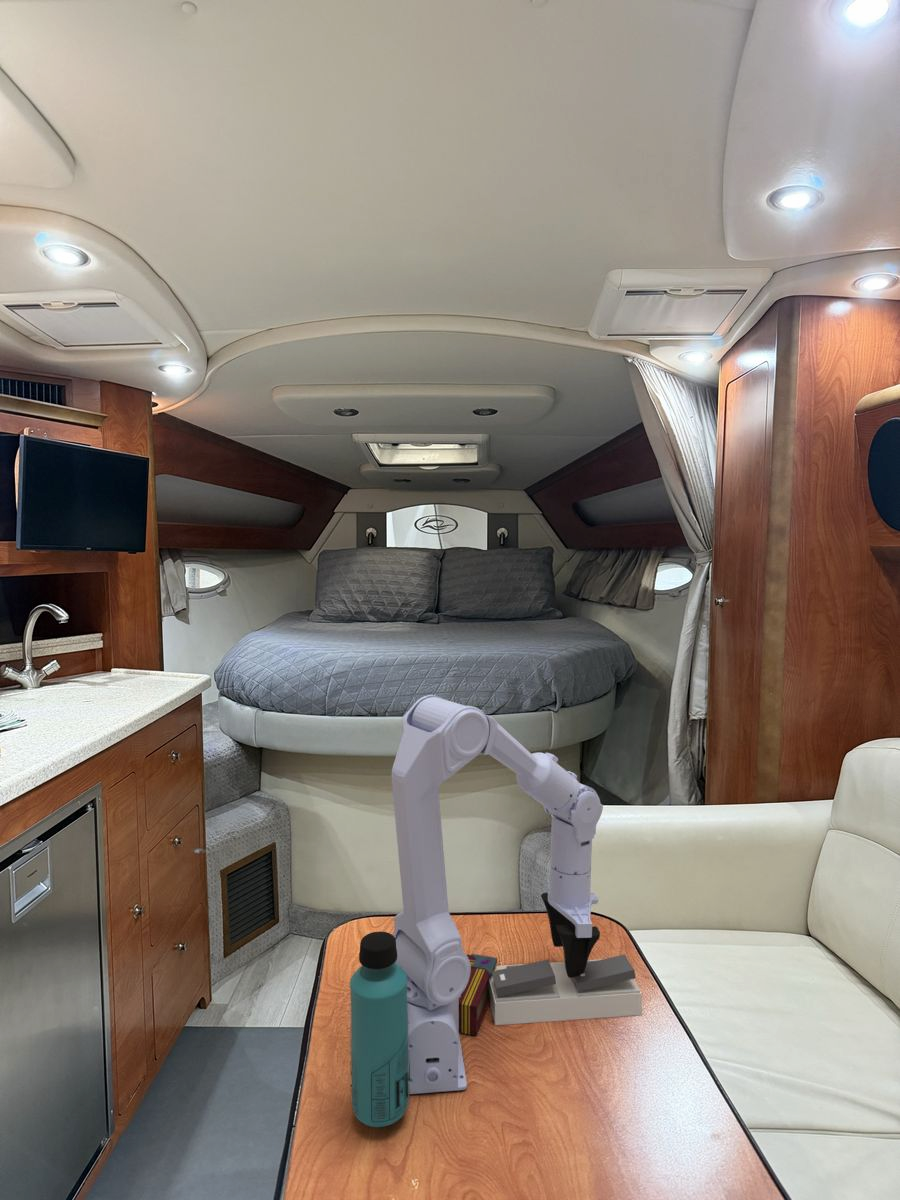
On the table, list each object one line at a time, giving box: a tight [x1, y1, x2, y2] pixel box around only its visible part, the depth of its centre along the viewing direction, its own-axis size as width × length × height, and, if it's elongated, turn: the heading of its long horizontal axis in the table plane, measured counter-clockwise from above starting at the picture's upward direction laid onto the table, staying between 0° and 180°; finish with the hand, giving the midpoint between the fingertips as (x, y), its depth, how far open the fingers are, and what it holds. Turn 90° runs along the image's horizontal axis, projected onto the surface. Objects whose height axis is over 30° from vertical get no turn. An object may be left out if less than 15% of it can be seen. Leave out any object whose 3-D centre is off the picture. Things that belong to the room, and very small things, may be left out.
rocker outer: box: [573, 954, 636, 992], centre depth 89 cm, size 4×8×1 cm, turn 96°
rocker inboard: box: [492, 958, 556, 997], centre depth 88 cm, size 4×8×1 cm, turn 96°
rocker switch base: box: [488, 958, 643, 1026], centre depth 91 cm, size 8×20×3 cm, turn 96°
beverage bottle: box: [348, 931, 411, 1128], centre depth 71 cm, size 6×7×20 cm
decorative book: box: [459, 953, 498, 1037], centre depth 91 cm, size 11×16×5 cm
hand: (567, 960), depth 92 cm, fingers open, 7 cm apart
